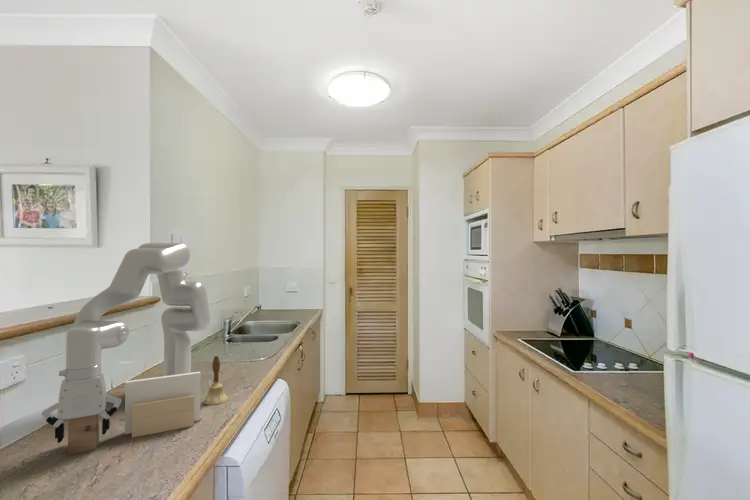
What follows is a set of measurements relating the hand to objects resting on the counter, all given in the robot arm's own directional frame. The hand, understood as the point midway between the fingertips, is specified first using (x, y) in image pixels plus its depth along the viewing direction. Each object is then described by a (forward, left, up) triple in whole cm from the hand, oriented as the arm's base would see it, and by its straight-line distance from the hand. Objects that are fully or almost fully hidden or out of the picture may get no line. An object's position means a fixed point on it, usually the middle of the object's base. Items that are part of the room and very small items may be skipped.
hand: (83, 436), depth 103 cm
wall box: (-2, 0, -3) cm, 4 cm away
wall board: (-5, +19, -3) cm, 20 cm away
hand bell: (-20, +35, -4) cm, 41 cm away
